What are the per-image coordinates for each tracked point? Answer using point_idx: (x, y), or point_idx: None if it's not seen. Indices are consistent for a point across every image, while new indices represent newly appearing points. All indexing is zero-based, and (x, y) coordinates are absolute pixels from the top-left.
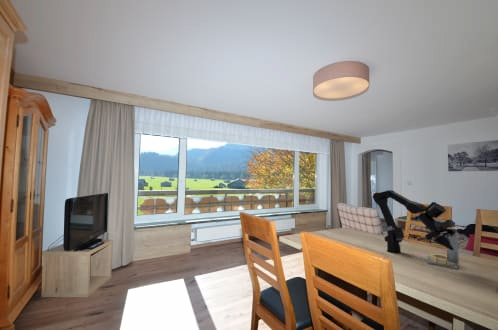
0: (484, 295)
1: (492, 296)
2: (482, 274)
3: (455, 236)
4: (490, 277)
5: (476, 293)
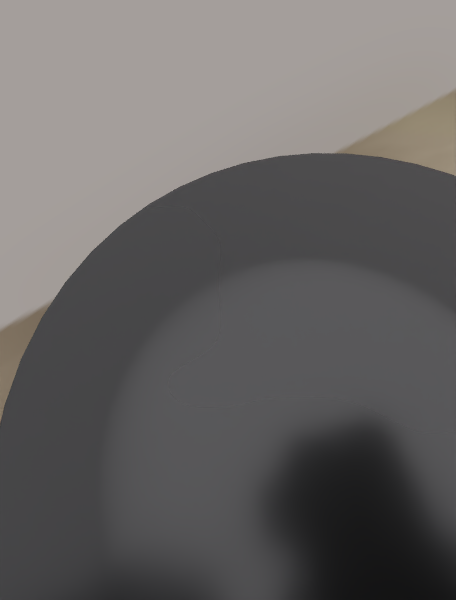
0: (408, 148)
1: (371, 137)
2: (2, 399)
3: (275, 253)
4: (19, 336)
5: (435, 167)
